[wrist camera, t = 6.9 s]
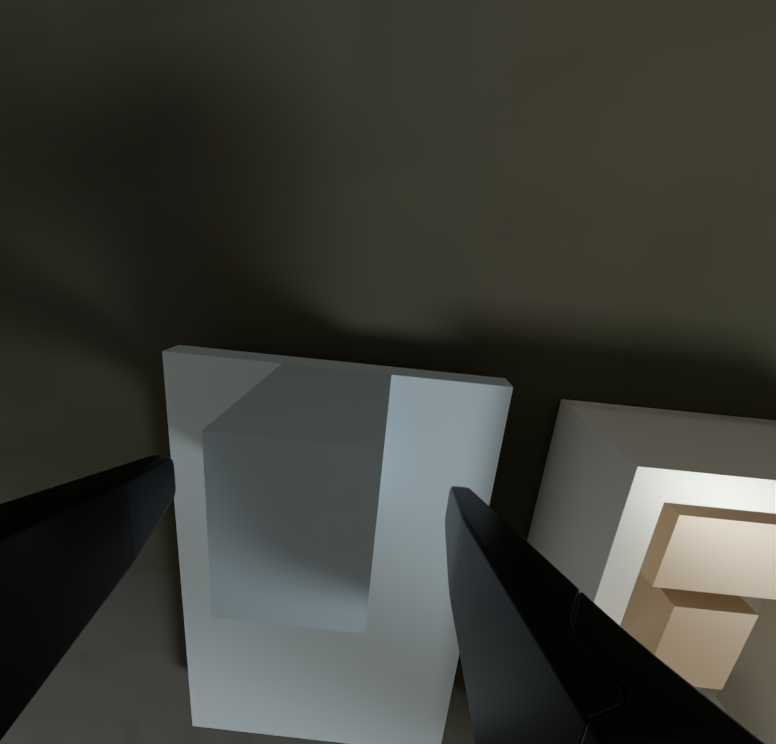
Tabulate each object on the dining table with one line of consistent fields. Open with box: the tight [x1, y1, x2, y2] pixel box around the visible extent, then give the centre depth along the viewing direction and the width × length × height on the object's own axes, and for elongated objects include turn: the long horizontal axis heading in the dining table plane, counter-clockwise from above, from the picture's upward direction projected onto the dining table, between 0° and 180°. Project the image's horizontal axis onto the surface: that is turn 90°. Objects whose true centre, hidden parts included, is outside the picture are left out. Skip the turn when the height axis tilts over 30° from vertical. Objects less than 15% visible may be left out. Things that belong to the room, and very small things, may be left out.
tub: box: [527, 399, 776, 744], centre depth 12 cm, size 14×9×4 cm, turn 175°
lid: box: [162, 345, 513, 744], centre depth 11 cm, size 15×10×6 cm, turn 175°
